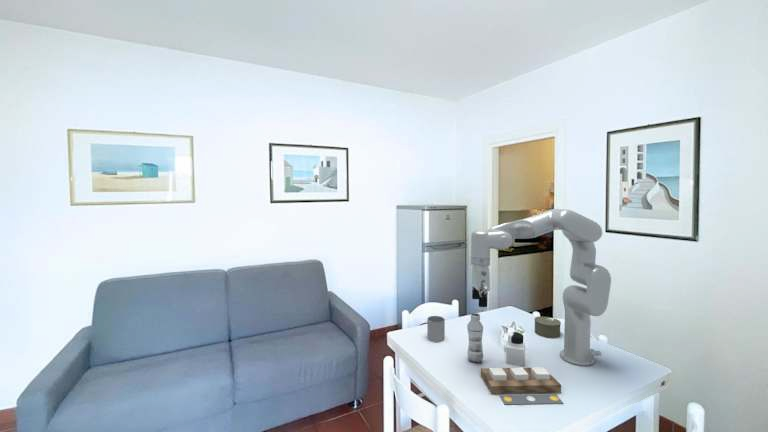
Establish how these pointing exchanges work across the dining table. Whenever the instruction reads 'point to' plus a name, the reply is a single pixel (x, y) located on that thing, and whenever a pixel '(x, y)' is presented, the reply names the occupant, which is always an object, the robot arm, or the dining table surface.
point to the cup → (436, 329)
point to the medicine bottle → (515, 349)
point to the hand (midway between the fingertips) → (479, 302)
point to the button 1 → (497, 374)
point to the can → (547, 327)
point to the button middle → (518, 374)
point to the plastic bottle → (475, 338)
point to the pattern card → (530, 399)
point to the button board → (520, 384)
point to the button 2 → (540, 373)
